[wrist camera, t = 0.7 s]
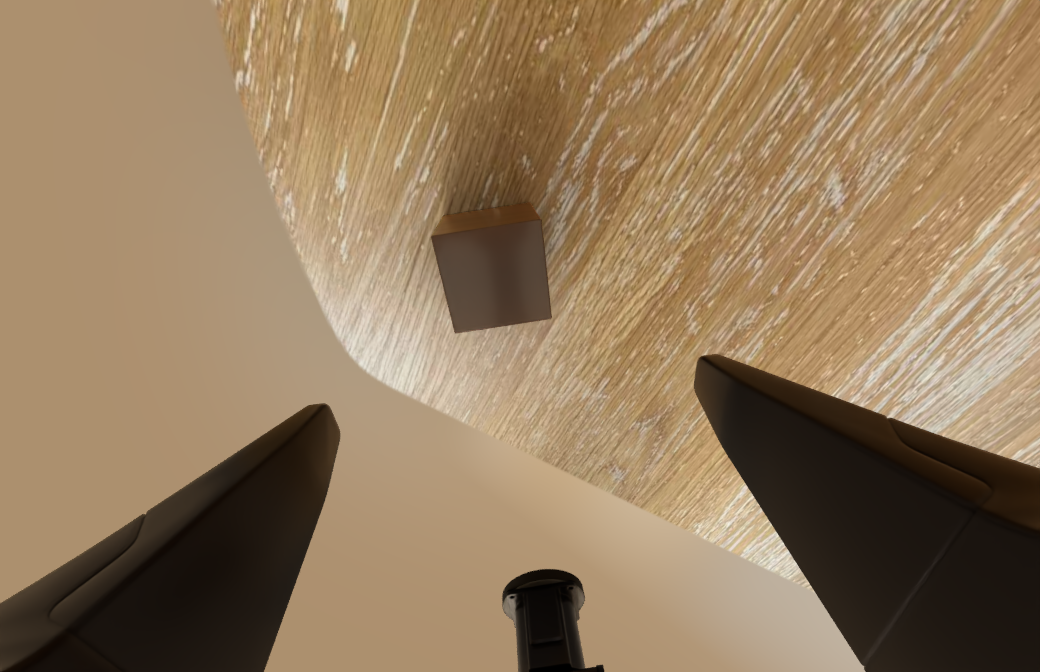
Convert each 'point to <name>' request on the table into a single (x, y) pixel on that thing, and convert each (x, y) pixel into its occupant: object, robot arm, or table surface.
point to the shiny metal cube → (493, 267)
